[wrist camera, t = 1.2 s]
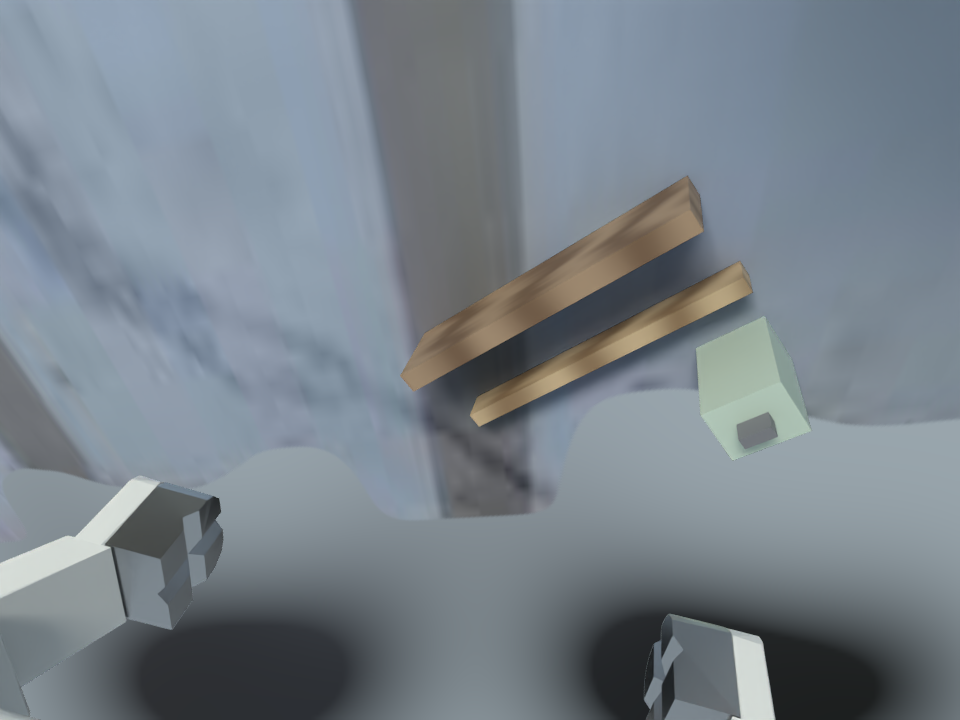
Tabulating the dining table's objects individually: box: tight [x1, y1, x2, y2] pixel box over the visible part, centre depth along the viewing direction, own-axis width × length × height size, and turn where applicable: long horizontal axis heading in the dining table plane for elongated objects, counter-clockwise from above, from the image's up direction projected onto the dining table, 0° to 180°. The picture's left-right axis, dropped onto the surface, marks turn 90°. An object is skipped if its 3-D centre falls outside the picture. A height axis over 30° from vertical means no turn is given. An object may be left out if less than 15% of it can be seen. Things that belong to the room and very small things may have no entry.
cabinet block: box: [696, 316, 812, 461], centre depth 45 cm, size 5×4×10 cm
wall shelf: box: [400, 176, 753, 427], centre depth 47 cm, size 22×8×6 cm, turn 128°
